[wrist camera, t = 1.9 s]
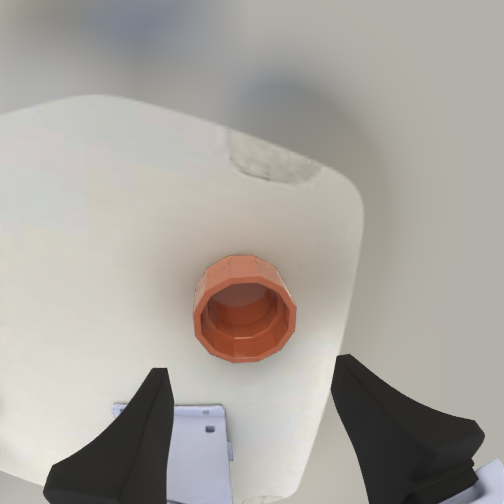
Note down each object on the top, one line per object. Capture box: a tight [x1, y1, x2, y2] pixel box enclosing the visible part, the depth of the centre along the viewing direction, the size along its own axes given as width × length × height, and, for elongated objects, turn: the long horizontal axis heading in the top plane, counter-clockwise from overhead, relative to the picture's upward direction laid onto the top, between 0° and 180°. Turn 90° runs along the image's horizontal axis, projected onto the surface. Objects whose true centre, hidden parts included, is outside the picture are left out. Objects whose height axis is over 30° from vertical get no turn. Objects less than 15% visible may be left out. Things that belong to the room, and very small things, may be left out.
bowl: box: [193, 255, 296, 363], centre depth 19 cm, size 6×6×4 cm
